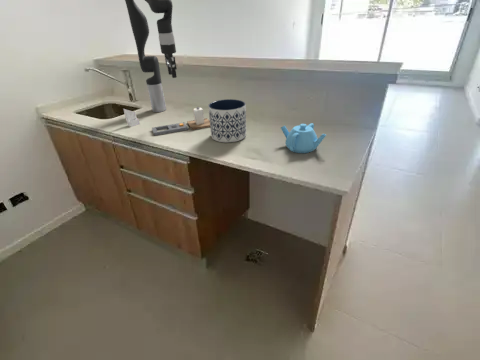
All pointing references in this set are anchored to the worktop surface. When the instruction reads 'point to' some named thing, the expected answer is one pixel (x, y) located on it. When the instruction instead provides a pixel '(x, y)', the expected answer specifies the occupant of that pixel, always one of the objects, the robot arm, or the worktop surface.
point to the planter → (227, 120)
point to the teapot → (302, 138)
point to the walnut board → (200, 126)
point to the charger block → (198, 115)
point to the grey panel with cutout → (170, 128)
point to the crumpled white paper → (131, 118)
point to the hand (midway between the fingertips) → (172, 76)
